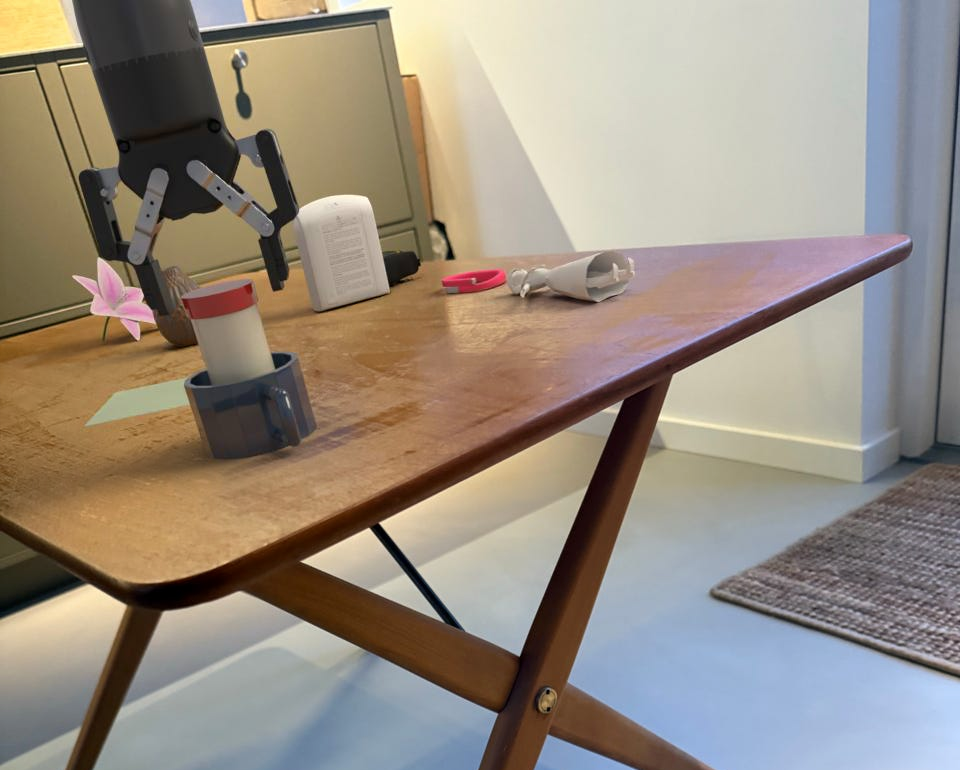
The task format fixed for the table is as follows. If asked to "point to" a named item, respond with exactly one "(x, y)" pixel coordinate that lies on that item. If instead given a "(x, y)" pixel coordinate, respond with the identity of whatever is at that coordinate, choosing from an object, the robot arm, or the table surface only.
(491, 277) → the fitness band
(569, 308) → the table surface
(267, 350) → the jar
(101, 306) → the lily
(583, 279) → the woman figurine
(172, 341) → the vase
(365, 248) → the white rounded block
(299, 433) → the mug
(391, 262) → the tape measure
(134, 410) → the sticky note
